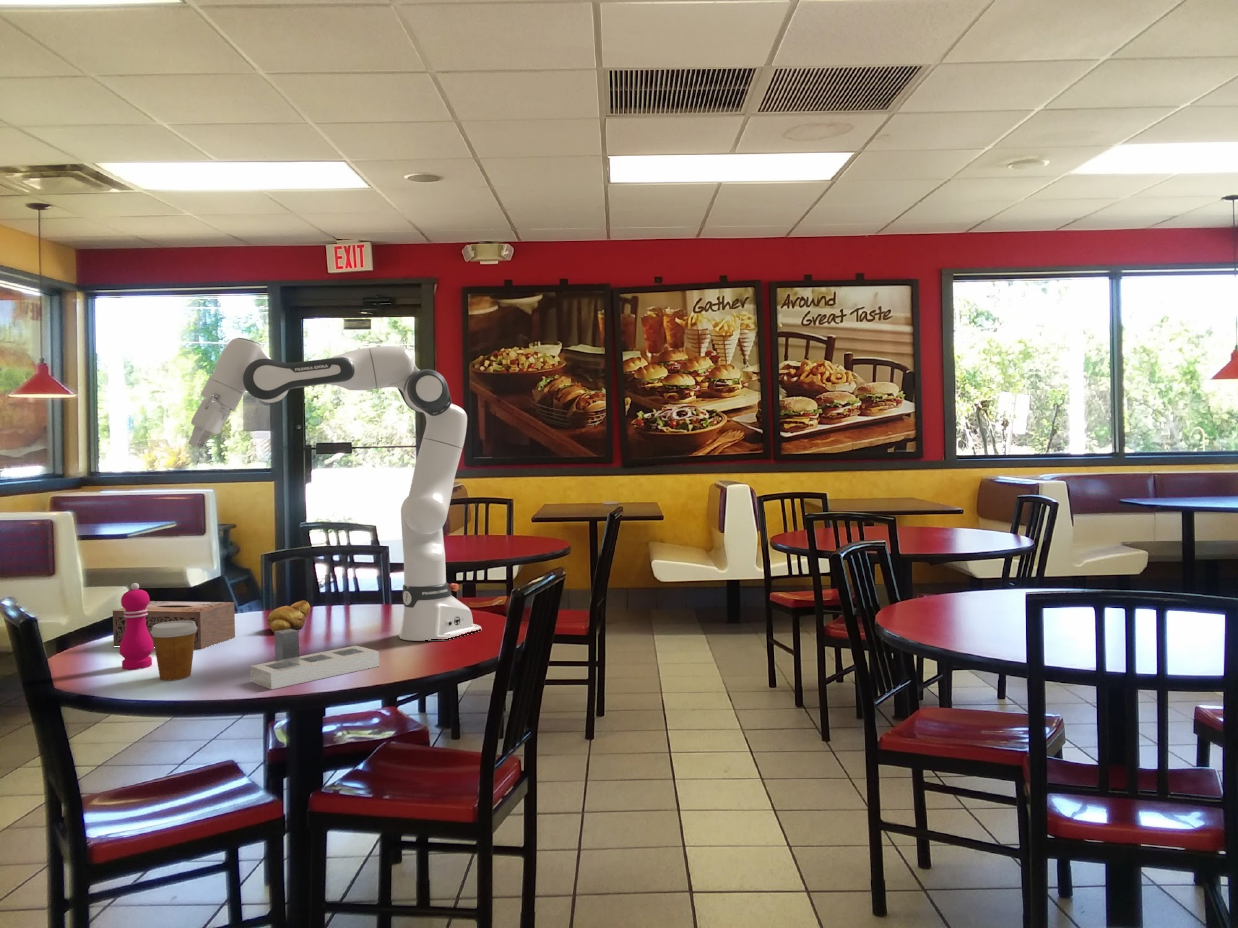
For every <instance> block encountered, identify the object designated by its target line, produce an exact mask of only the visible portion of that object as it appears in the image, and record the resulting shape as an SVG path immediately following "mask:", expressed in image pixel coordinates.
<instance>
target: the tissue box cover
mask: <svg viewBox="0 0 1238 928" xmlns="http://www.w3.org/2000/svg"><path fill="white" fill-rule="evenodd" d="M146 609H147V613H148V614H147V615H146V627H147V630H148V632H149V634H150V636H151V638H152V641H153V645H154V639H153V636H152V634H151V631H152V628H153V625H156V624H159V623H164V622H171V621H194V622H195V624H196V627H198V628H197V630H196V632H195V641H194V650H203V649H206V647H207V648H209V646H210V647H212V646H211V645H213V646H215V645H214V644H216V645H219V644H221V643H224V642H226V641H227V642H228V641H230V640H232V638H233V639H235V638H236V625H235V624H236V623H235V622H236V619H235V615H236V614H235V613H236V612H235V601H233V602H231V601H229V602H228V601H227V602H226V601H217V602H216V601H167V600H166V601H165V600H164V601H159V600H158V601H155V600H150V602H149V604H148V605H147V607H146ZM124 611H126V610H125V609H124V608H123V607H121V608H117V609H114V610H113V609H112V632H113V637H112V638H113V639H112V640H113V647H114V646H120V643H121V640H122V638H123V636H124V633H125V629H126V617H124ZM234 637H235V638H234ZM229 639H230V640H229ZM220 642H221V643H220ZM218 643H219V644H218ZM154 647H155V646H154Z"/></svg>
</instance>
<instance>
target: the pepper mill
mask: <svg viewBox="0 0 1238 928" xmlns="http://www.w3.org/2000/svg"><path fill="white" fill-rule="evenodd" d="M130 588H131V589H130V590H127V591H126V592H125V593H123V594H122V596H121V599H120V604H121V608H124V609H125V610H126V611H124V617H126V629H125V633H124V636H123V638H122V640H121V643H120V647H118V649H119V652H118V653H119V654H120V656H122V657H123V659H122V660H121V667H122V669H123V670H126V669H127V670H133V669H134V670H140V669H139V668H142V669H145V668H146V667H147V668H149V667H152V665H153V658H152V656H150V655H151V654H152V653H153V651H154V650H155V648H154V645H153V641H152V638H151V636H150V634H149V632H148V630H147V627H146V615H147V614H148V613H147V609H146V607H147V605H148V604H149V602H150V601H151V600H150V595H149V594H148V592H147V590H146V591H145V590H143V589H139V588H140V585H139V583H137V582H134V583H131V585H130ZM147 668H146V669H147Z"/></svg>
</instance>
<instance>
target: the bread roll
mask: <svg viewBox="0 0 1238 928" xmlns="http://www.w3.org/2000/svg"><path fill="white" fill-rule="evenodd" d="M310 611H311V606H310V604H309V602H308V601H307V600H304V599H303V600H300V601H297V602H295V603H293V604H291V605H290V606H289V605H285V606H280V607H278V608H275V609H273V610H272V611H271V612H270V613H269V614H268V617H267V619H266V620H267V626H269V628H270V630H271V631H272V632H273V633H274V631H280V630H286V629H293V630H297V631H298V630H300V629H302V628H303V627H304V626H305V624H306V620H307V617H308V616H309V615H310Z"/></svg>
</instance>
